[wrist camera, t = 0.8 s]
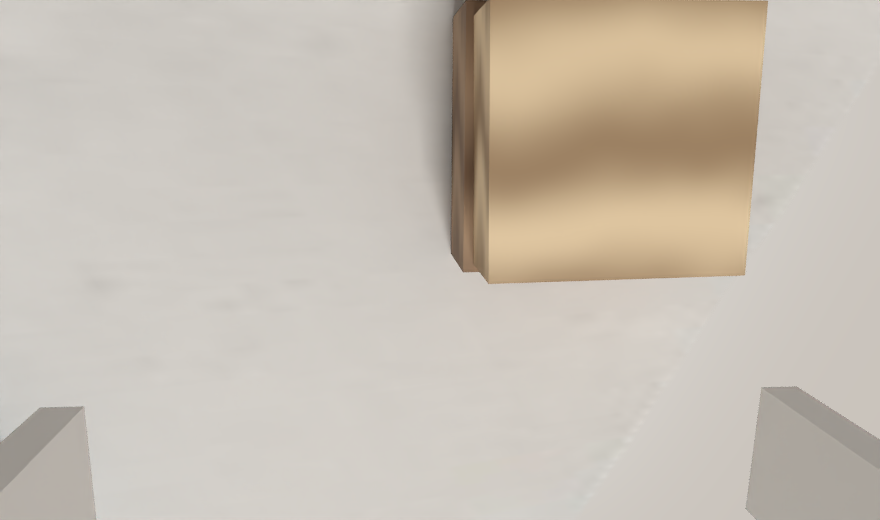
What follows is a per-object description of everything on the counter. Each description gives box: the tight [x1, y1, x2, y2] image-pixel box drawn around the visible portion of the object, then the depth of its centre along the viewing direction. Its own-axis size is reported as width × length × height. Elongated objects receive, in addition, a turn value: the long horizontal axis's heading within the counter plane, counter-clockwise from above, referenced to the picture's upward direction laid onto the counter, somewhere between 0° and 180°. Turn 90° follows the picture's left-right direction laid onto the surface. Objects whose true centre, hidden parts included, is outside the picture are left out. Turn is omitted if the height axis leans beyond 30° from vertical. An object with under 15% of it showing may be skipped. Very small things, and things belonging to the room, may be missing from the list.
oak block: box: [474, 0, 768, 284], centre depth 28 cm, size 11×11×4 cm
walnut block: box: [451, 0, 487, 272], centre depth 33 cm, size 12×12×5 cm
